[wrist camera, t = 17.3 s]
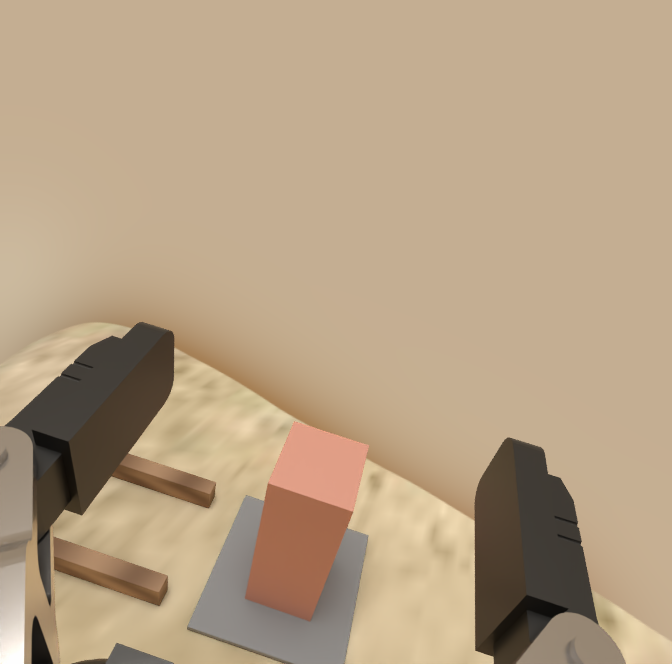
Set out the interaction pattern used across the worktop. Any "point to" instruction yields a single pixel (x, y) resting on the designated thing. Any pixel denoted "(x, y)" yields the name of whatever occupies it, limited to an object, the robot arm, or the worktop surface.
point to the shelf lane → (121, 572)
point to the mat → (270, 624)
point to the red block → (304, 519)
